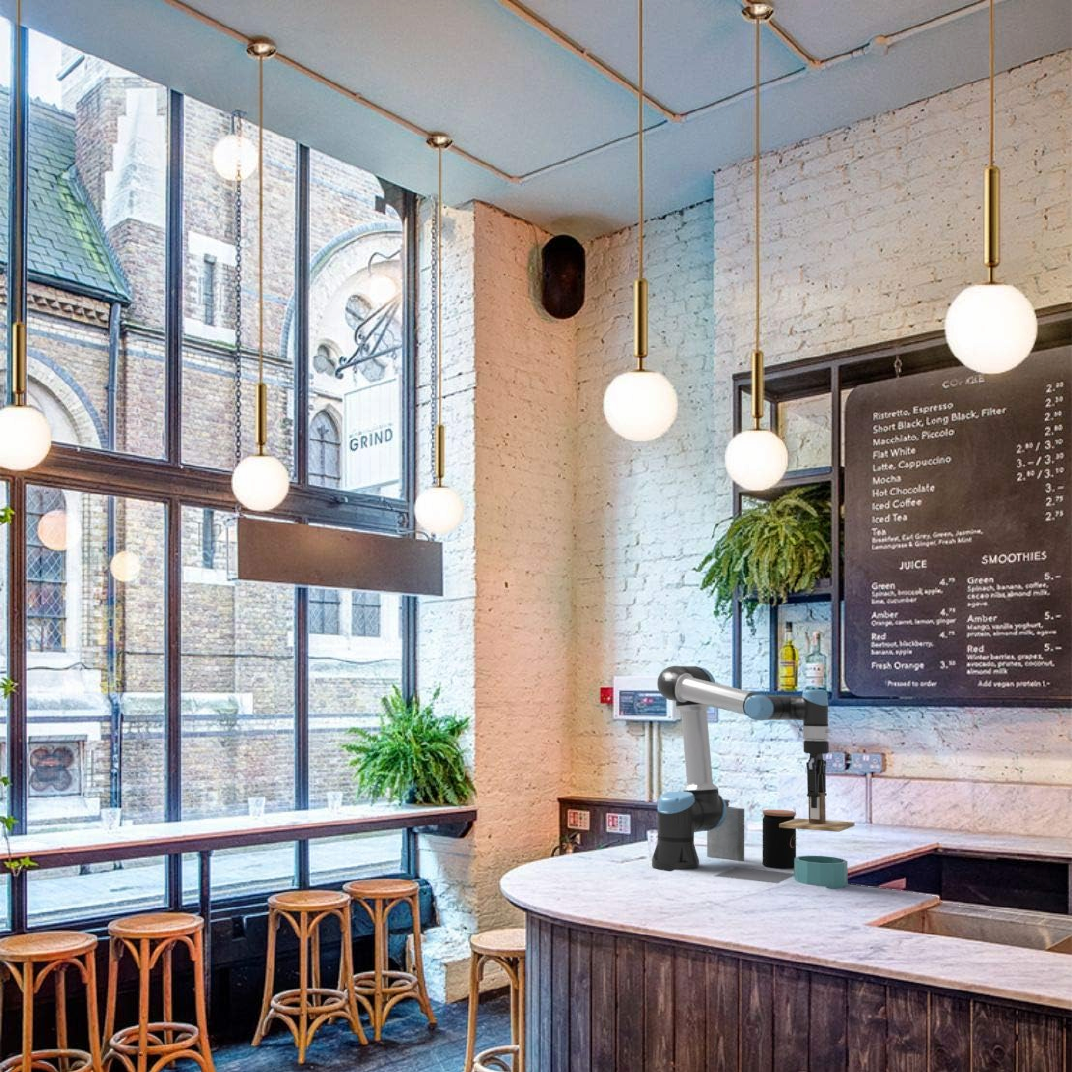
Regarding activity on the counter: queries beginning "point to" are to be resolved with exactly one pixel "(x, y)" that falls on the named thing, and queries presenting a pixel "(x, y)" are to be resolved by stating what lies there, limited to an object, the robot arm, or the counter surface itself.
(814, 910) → the counter surface
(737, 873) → the rubber mat
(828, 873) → the teal bowl
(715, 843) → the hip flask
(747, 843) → the counter surface
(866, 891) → the counter surface
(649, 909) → the counter surface
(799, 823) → the oak cover
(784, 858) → the coffee jar
